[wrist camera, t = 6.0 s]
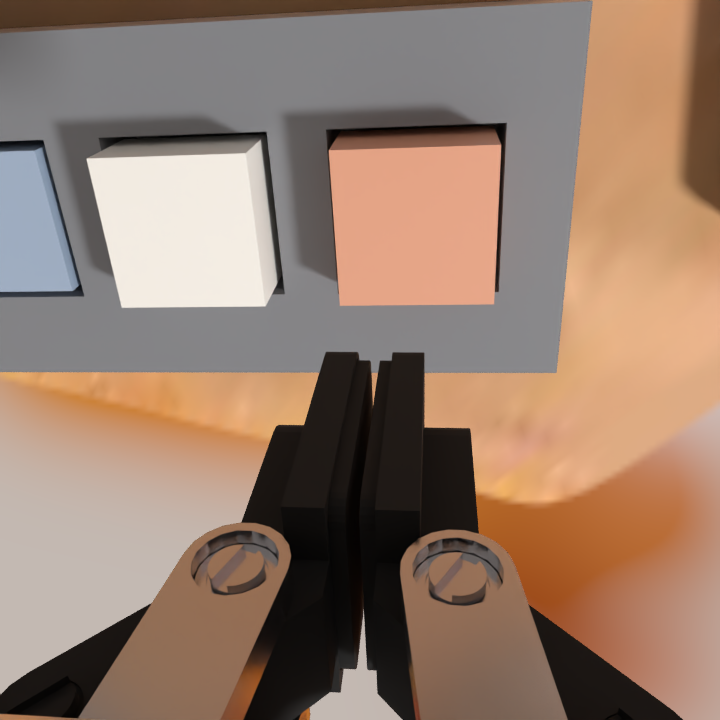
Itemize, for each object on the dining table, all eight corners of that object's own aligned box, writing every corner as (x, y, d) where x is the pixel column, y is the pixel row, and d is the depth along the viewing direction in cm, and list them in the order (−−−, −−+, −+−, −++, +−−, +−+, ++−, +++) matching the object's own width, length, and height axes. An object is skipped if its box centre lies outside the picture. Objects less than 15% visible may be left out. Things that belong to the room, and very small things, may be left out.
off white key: (124, 139, 24) (86, 158, 21) (266, 133, 23) (245, 153, 21) (153, 274, 26) (121, 307, 23) (282, 272, 26) (265, 306, 23)
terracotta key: (340, 131, 23) (328, 150, 20) (493, 125, 22) (501, 144, 20) (349, 272, 25) (339, 305, 23) (487, 270, 25) (494, 304, 22)
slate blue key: (-51, 137, 26) (-106, 155, 23) (75, 133, 25) (34, 150, 23) (-10, 263, 28) (-55, 292, 26) (106, 261, 28) (72, 291, 25)
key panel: (-117, 35, 26) (-215, 44, 22) (565, -3, 23) (592, 0, 19) (-17, 323, 32) (-81, 371, 28) (539, 319, 29) (556, 372, 25)
